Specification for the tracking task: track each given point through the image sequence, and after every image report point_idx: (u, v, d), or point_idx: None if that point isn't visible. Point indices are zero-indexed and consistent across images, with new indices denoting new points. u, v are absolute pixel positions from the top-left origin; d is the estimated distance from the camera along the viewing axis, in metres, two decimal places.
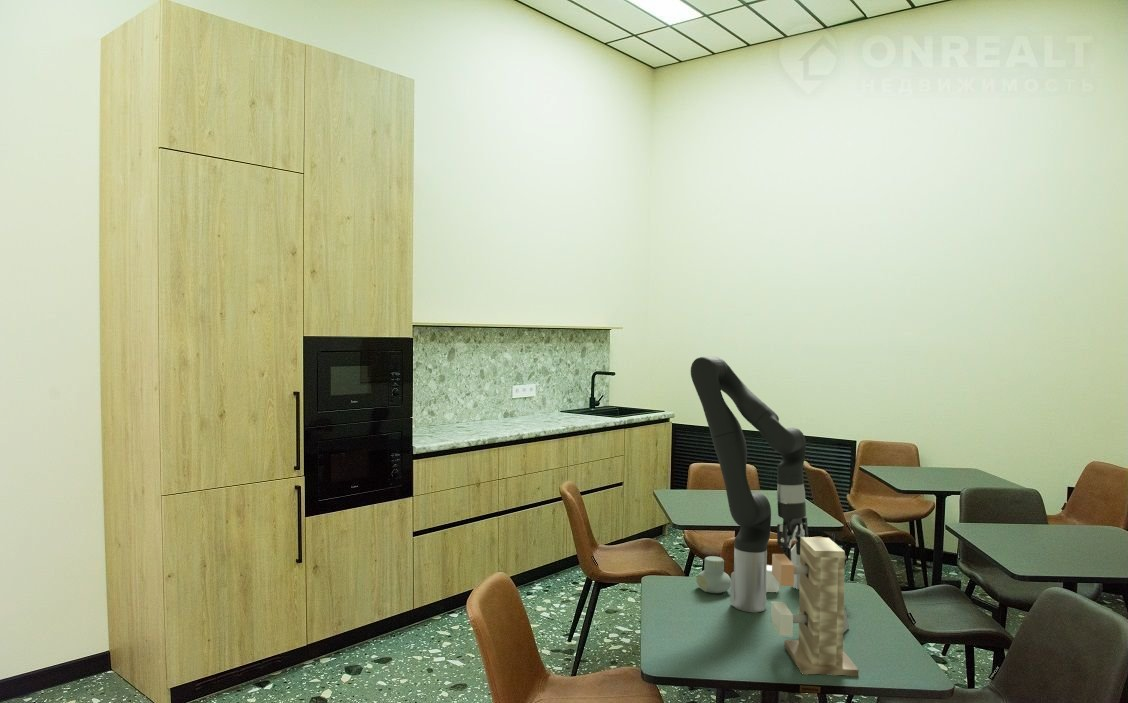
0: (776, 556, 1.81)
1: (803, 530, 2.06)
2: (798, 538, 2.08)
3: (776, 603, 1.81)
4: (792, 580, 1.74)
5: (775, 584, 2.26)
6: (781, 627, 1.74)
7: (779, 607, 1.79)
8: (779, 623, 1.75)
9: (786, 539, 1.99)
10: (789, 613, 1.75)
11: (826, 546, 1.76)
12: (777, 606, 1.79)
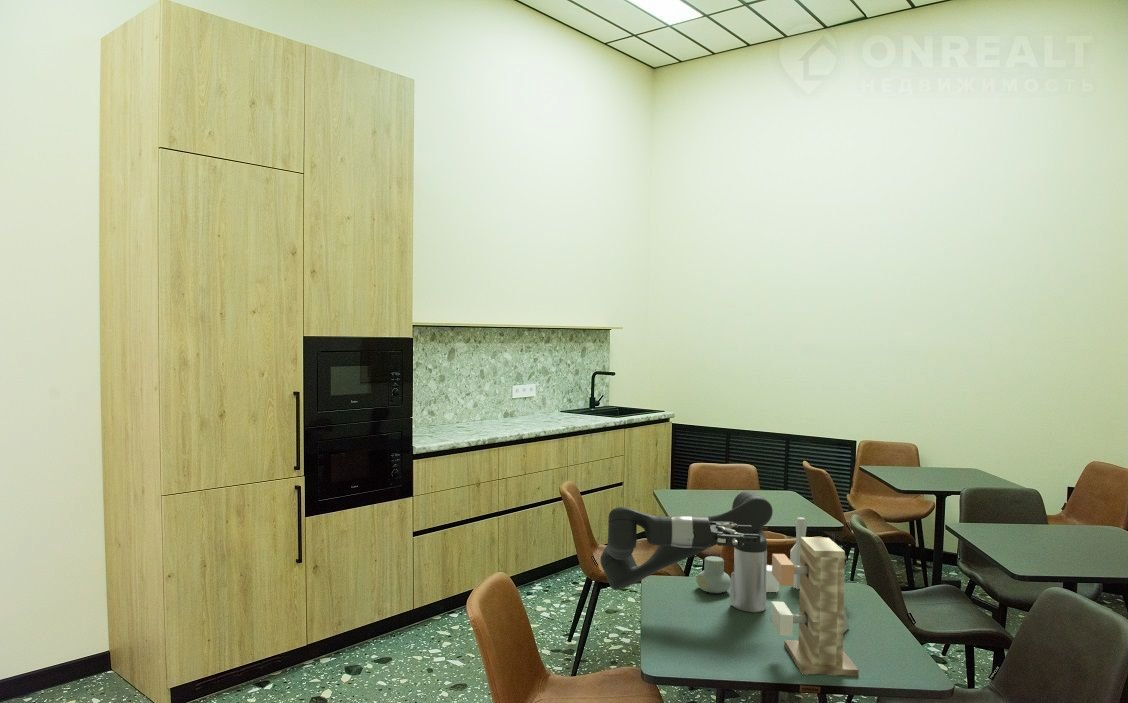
0: (776, 556, 1.81)
1: (724, 523, 1.82)
2: None
3: (776, 603, 1.81)
4: (792, 580, 1.74)
5: (775, 584, 2.26)
6: (781, 627, 1.74)
7: (779, 607, 1.79)
8: (779, 623, 1.75)
9: (734, 535, 1.73)
10: (789, 613, 1.75)
11: (826, 546, 1.76)
12: (777, 606, 1.79)
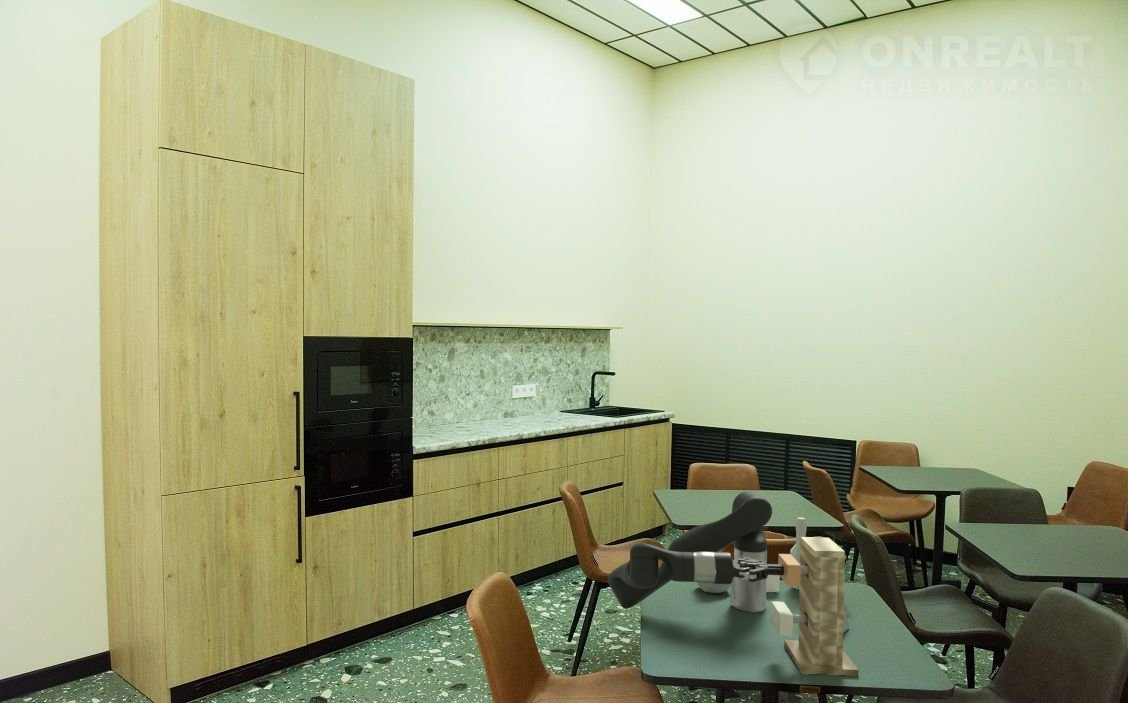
0: (782, 556, 1.81)
1: (750, 560, 1.80)
2: None
3: (776, 603, 1.81)
4: (799, 580, 1.74)
5: (775, 584, 2.26)
6: (781, 627, 1.74)
7: (779, 607, 1.79)
8: (779, 623, 1.75)
9: (760, 568, 1.75)
10: (789, 613, 1.75)
11: (826, 546, 1.76)
12: (777, 606, 1.79)
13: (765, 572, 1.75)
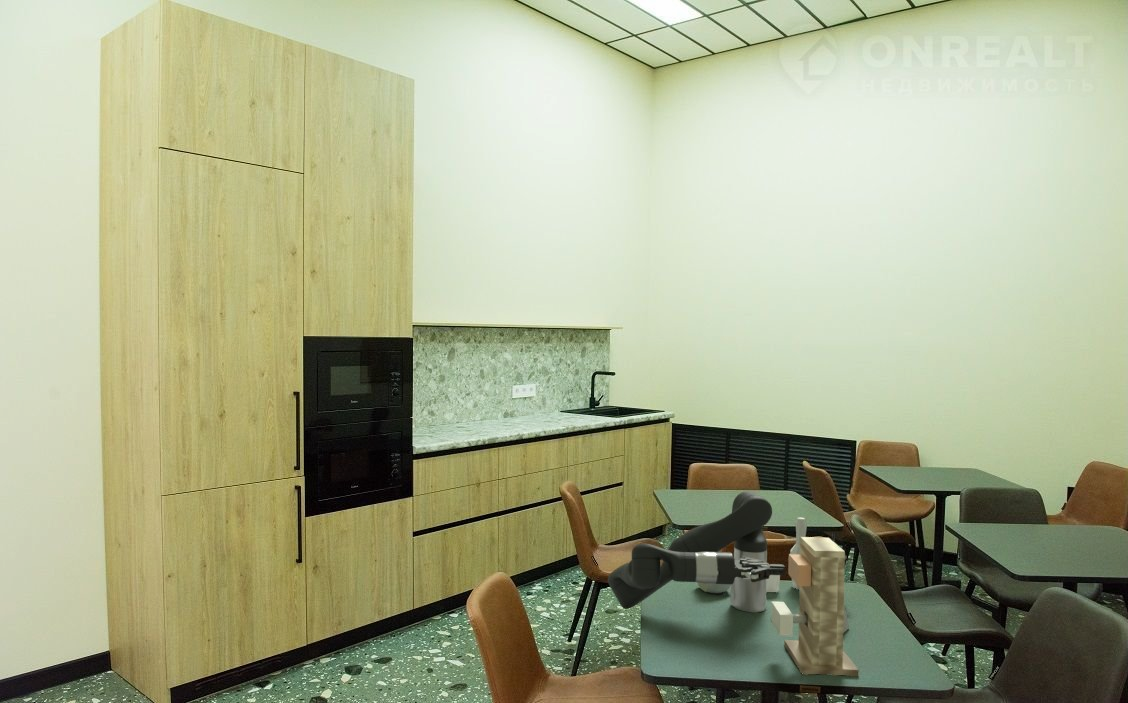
0: (793, 556, 1.80)
1: (752, 560, 1.80)
2: None
3: (776, 603, 1.81)
4: (809, 580, 1.74)
5: (775, 584, 2.26)
6: (781, 627, 1.74)
7: (779, 607, 1.79)
8: (779, 623, 1.75)
9: (762, 568, 1.75)
10: (789, 613, 1.75)
11: (826, 546, 1.76)
12: (777, 606, 1.79)
13: (767, 572, 1.75)
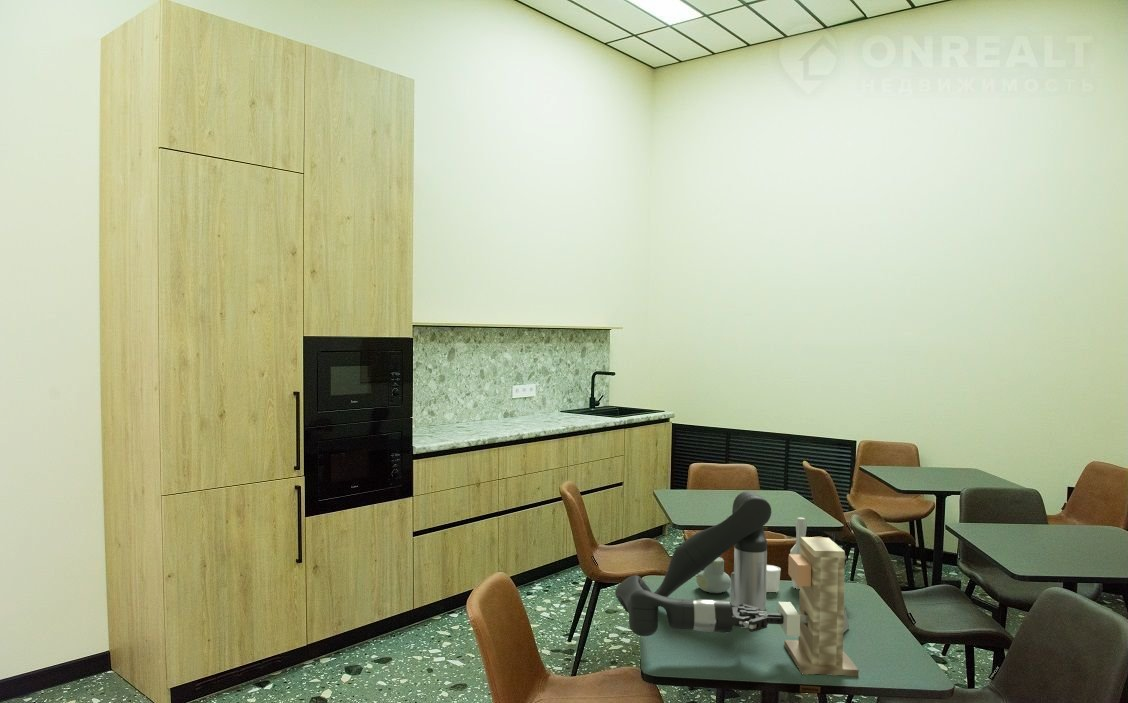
0: (793, 556, 1.80)
1: (750, 608, 1.80)
2: None
3: (783, 604, 1.81)
4: (809, 580, 1.74)
5: (775, 584, 2.26)
6: (788, 627, 1.74)
7: (786, 607, 1.79)
8: (786, 623, 1.75)
9: (760, 618, 1.75)
10: (796, 613, 1.75)
11: (826, 546, 1.76)
12: (784, 607, 1.79)
13: (765, 621, 1.75)
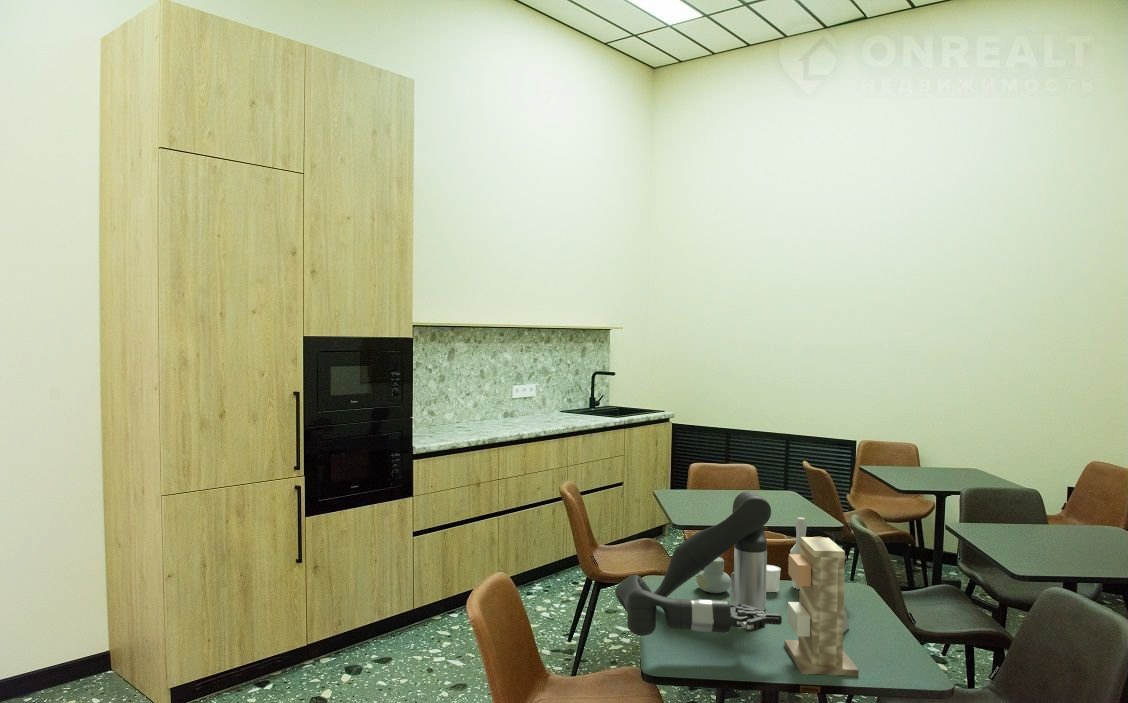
0: (793, 556, 1.80)
1: (748, 608, 1.80)
2: None
3: (793, 604, 1.81)
4: (809, 580, 1.74)
5: (775, 584, 2.26)
6: (798, 628, 1.74)
7: (796, 607, 1.79)
8: (796, 624, 1.75)
9: (758, 618, 1.75)
10: (806, 614, 1.75)
11: (826, 546, 1.76)
12: (794, 607, 1.79)
13: (762, 622, 1.75)
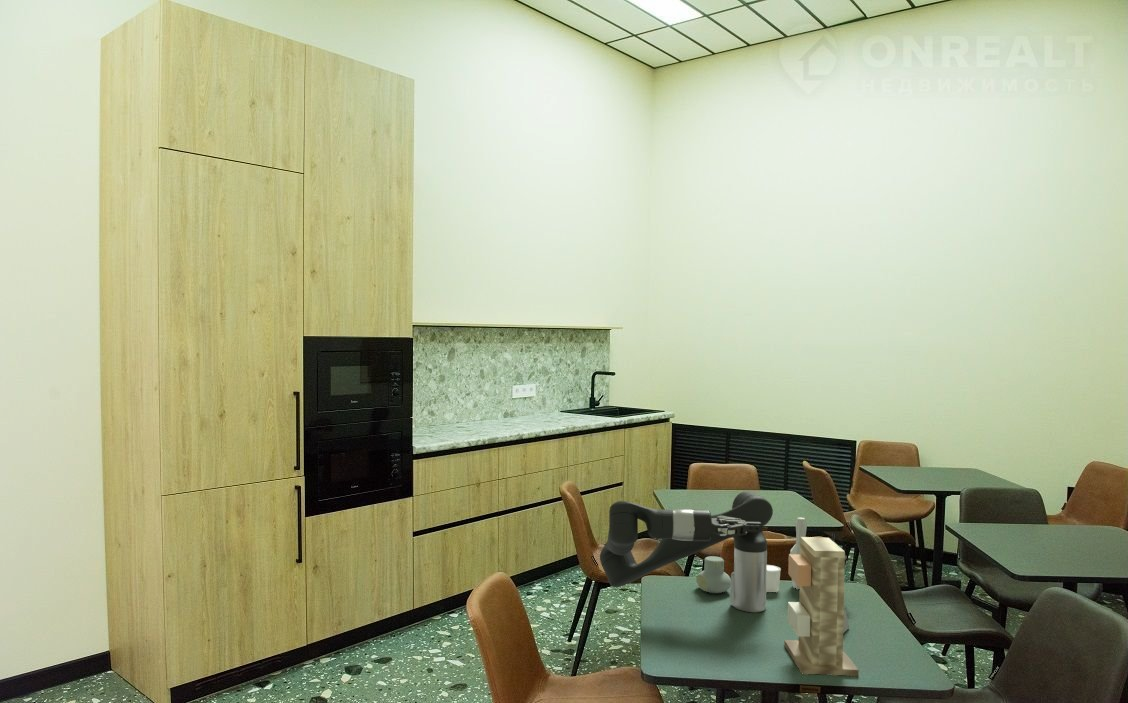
0: (793, 556, 1.80)
1: (729, 517, 1.81)
2: (741, 527, 1.79)
3: (793, 604, 1.81)
4: (809, 580, 1.74)
5: (775, 584, 2.26)
6: (798, 628, 1.74)
7: (796, 607, 1.79)
8: (796, 624, 1.75)
9: (739, 525, 1.75)
10: (806, 614, 1.75)
11: (826, 546, 1.76)
12: (794, 607, 1.79)
13: (743, 528, 1.76)
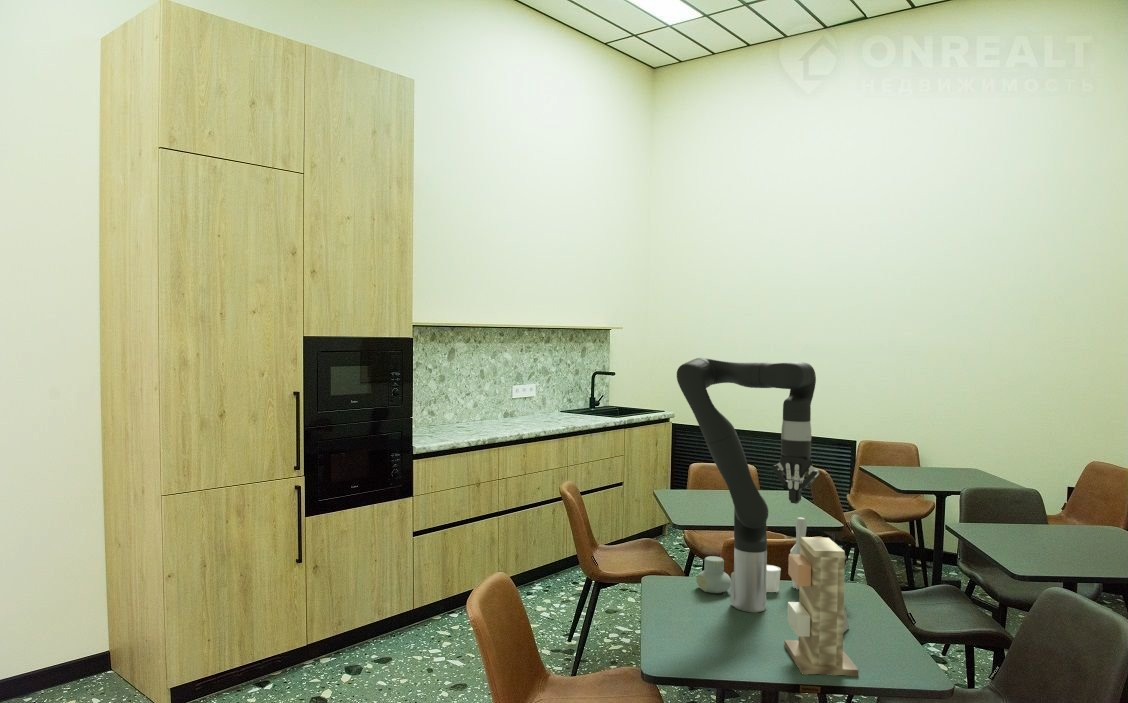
0: (793, 556, 1.80)
1: None
2: (792, 484, 1.94)
3: (793, 604, 1.81)
4: (809, 580, 1.74)
5: (775, 584, 2.26)
6: (798, 628, 1.74)
7: (796, 607, 1.79)
8: (796, 624, 1.75)
9: None
10: (806, 614, 1.75)
11: (826, 546, 1.76)
12: (794, 607, 1.79)
13: (807, 485, 1.92)
